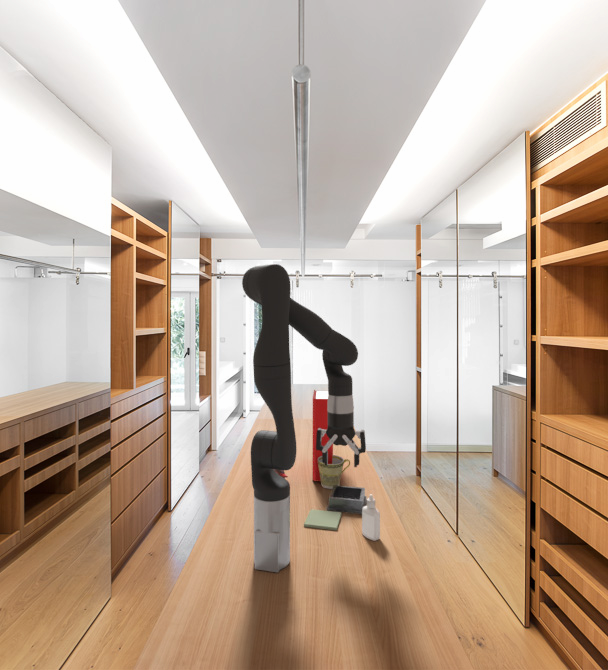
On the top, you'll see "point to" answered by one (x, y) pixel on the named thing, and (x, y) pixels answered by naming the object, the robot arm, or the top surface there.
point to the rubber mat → (323, 519)
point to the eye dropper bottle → (371, 520)
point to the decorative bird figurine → (281, 473)
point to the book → (321, 422)
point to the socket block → (347, 499)
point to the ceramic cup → (331, 471)
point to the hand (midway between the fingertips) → (340, 465)
